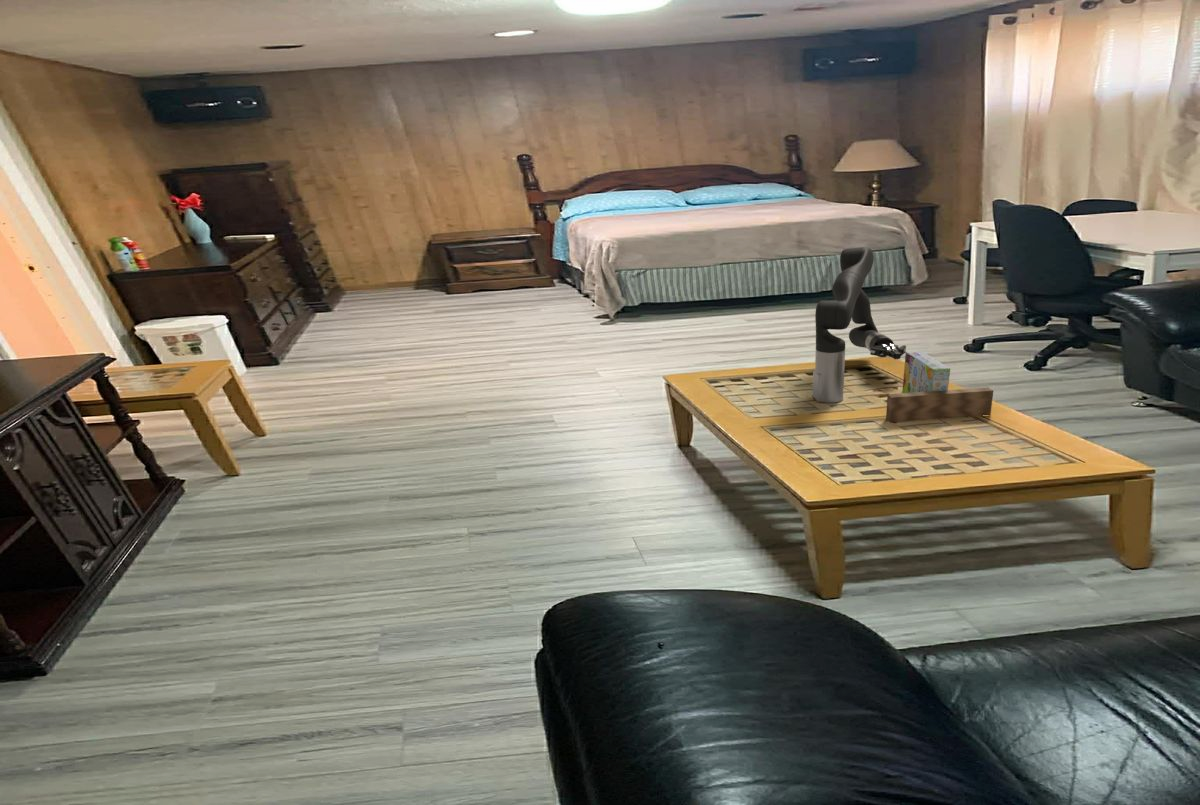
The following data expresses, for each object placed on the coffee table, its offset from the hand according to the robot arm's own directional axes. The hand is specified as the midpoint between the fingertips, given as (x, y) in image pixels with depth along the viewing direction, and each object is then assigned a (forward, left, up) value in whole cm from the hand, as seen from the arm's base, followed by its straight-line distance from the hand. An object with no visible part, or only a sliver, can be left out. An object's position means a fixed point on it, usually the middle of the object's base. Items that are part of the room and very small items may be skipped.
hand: (898, 356), depth 234 cm
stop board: (0, -32, -10) cm, 33 cm away
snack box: (+1, -20, -11) cm, 22 cm away
